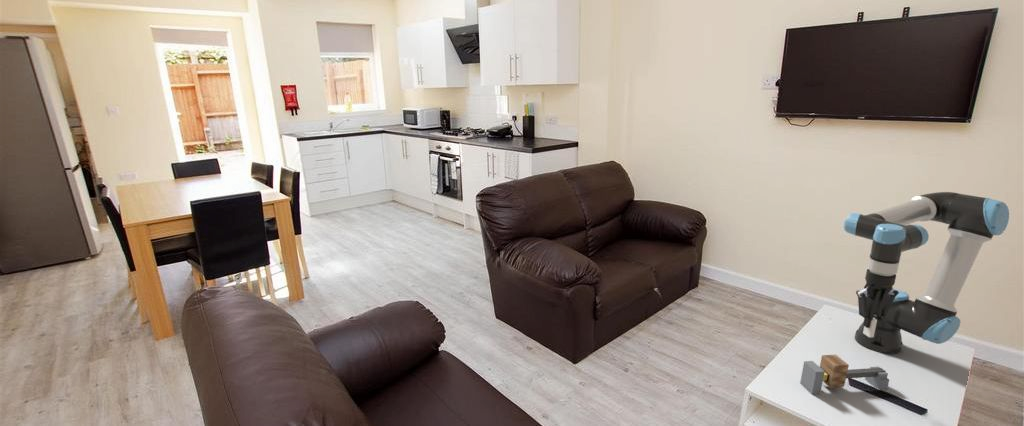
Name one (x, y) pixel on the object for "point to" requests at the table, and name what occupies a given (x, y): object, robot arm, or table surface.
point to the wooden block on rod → (834, 370)
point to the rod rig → (873, 375)
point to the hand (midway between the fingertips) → (868, 335)
